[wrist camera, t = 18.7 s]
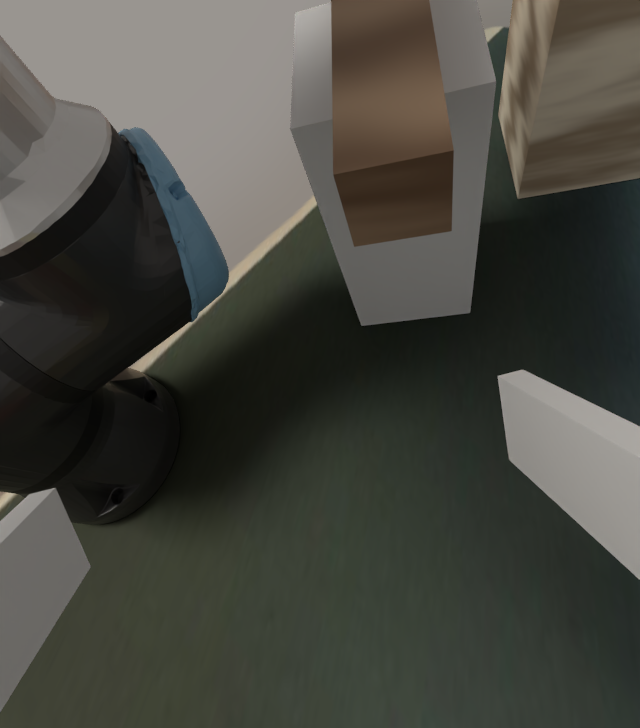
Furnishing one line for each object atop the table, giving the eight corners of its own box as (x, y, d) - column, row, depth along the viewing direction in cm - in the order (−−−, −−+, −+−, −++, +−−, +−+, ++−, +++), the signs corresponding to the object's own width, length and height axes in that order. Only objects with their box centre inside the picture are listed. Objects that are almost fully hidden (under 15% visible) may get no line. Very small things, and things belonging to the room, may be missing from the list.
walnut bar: (451, 231, 18) (453, 150, 14) (354, 246, 19) (333, 174, 15) (404, -93, 28) (398, -187, 24) (343, -73, 29) (329, -161, 25)
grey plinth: (470, 313, 40) (496, 81, 20) (361, 325, 42) (290, 129, 23) (456, 225, 44) (467, -39, 24) (358, 242, 46) (295, 12, 27)
